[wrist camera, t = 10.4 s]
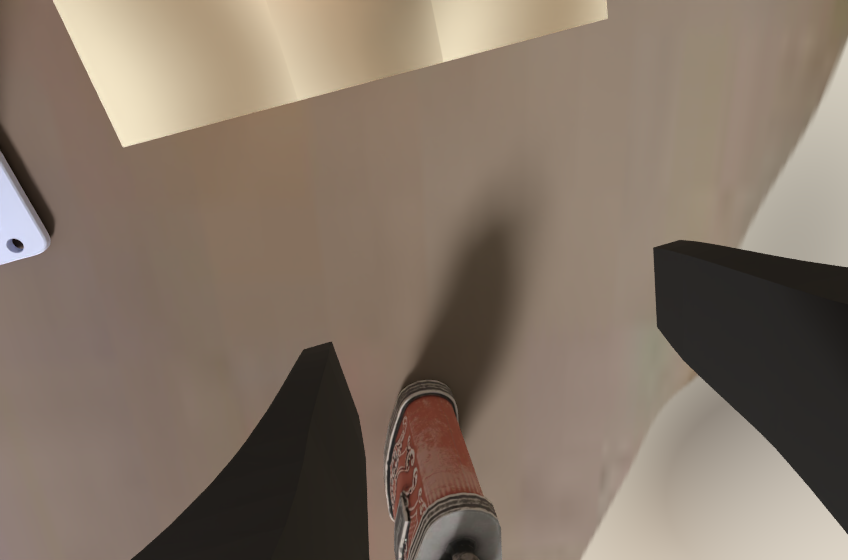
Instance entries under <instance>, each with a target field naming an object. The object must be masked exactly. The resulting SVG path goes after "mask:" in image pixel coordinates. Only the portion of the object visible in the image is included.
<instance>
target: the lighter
mask: <svg viewBox="0 0 848 560" xmlns="http://www.w3.org/2000/svg"><path fill="white" fill-rule="evenodd" d="M384 483H385V490H386V497H387V503H388V510H389V515H390V517H391V519H392V521H394V522H395V527H394V551H395V558H396V560H502V546H501V527H500V524H499V521H498V518H497V516H496V513H495V510H494V507H493V505H492V503H491V502H490V501H489V500H488V499H487V498H486V497H484V496H483V493H482V490H481V487H480V484H479V481H478V479H477V476H476V473H475V470H474V467H473V464H472V461H471V459H470V456H469V453H468V450H467V447H466V444H465V441H464V439H463V436H462V433H461V430H460V427H459V423H458V410H457V405H456V402H455V400H454V397H453V394H452V391H451V389H450V388H449V387H448V386H447V385H446V384H443V383H441V382H439V381H435V380H422V381H417V382H414V383H412V384H410V385H408V386H407V387H405V388H404V389H403V390H402V391H401V392H400V394H399V396H398V398H397V401H396V404H395V407H394V410H393V413H392V416H391V419H390V422H389V426H388V431H387V437H386V442H385V448H384Z"/></svg>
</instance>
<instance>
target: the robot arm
mask: <svg viewBox="0 0 848 560" xmlns="http://www.w3.org/2000/svg"><path fill="white" fill-rule="evenodd" d="M12 239H18V240H20V241H21V242H22V243H23V245H24V249H20V248H17V247H16V246H15V245H14V244H13V242H12ZM50 241H51V239H50V236H49V234H48V232H47V230H46V229H45V227H44V225H43V223H42V222H41V220H40V218H39V216H38V215H37V213H36V211H35V210H34V208H33V206H32V204H31V203H30V201H29V199H28V197H27V196H26V194H25V192H24V191H23V189H22V187H21V185H20V184H19V182H18V180H17V178H16V177H15V175H14V173H13V171H12V170H11V168H10V166H9V165H8V163H7V161H6V159H5V158H4V156H3V154H2V152H1V151H0V265H1V264H5V263H8V262H12V261H16V260H19V259H23V258H26V257H30V256H34V255H37V254H40V253H42V252H43V251H45V250H46V249H47V248H48V247H49V245H50ZM653 251H654V272H655V293H656V314H657V327H658V329H659V330H660V331H661V333H662V334H663V335H664V337H665V338H666V339H667V341H668V342H669V343H670V344H671V346H672V347H673V348H674V349H675V351H676V352H677V353H678V354H679V355H680V357H681V358H682V359H683V360H684V361H685V362H686V363H687V364H688V365H689V366H690V367H691V368H692V369H693V370H694V371H695V372H696V373H697V374H698V375H699V376H700V377H701V378H702V379H703V380H705V382H706V383H708V384H709V385H710V386H711V387H712V388H713V389H714V390H715V391H716V392H717V393H718V394H719V395H720V396H721V397H723V398H724V399H725V400H726V401H727V402H728V403H729V404H730V405H731V406H732V407H733V408H734V409H735V410H736V411H738V412H739V413H740V414H741V415H742V416H743V417H744V418H745V419H746V420H747V421H748V422H749V423H750V424H752V425H753V426H754V427H755V428H756V429H757V430H758V431H759V432H760V433H761V434H762V435H763V436H764V437H765V438H766V439H767V440H768V441H769V442H770V443H771V444H772V445H773V446H774V447H775V448H776V449H777V451H778V452H779V453H780V454H781V455H782V456H783V457H784V459H786V461H787V462H788V463H789V464H790V465H791V467H792V468H793V469H794V470H795V471H796V472H797V473H798V474H799V476H800V477H801V478H802V479H803V480H804V482H805V483H806V484H807V485H808V486H809V487H810V488H811V490H812V491H813V492H814V493H815V495H816V496H817V497H818V498H819V499H820V501H821V502H822V503H823V504H824V506H825V507H826V508H827V509H828V511H829V512H830V513H831V514H832V515H833V517H834V518H835V519H836V520H837V522H838V523H839V524H840V525H841V526H842V528H843V529H844V530H845V531H846V533H847V534H848V267H841V266H834V265H827V264H821V263H814V262H807V261H801V260H796V259H790V258H784V257H779V256H773V255H768V254H762V253H757V252H752V251H747V250H742V249H736V248H731V247H726V246H720V245H715V244H709V243H703V242H696V241H686V240H678V241H675V242H672V243H668V244H665V245H661V246H658V247H654V248H653ZM131 560H369V541H368V510H367V481H366V457H365V450H364V444H363V438H362V432H361V426H360V420H359V415H358V413H357V410H356V407H355V404H354V402H353V399H352V396H351V393H350V391H349V388H348V385H347V382H346V380H345V377H344V374H343V371H342V369H341V366H340V363H339V360H338V358H337V355H336V352H335V349H334V347H333V344H332V342H328V343H325V344H321V345H318V346H314V347H311V348H308V349H304V350H303V351H302V353H301V355H300V356H299V358H298V360H297V361H296V363H295V365H294V366H293V368H292V370H291V372H290V373H289V375H288V377H287V379H286V380H285V382H284V384H283V386H282V387H281V389H280V391H279V392H278V394H277V396H276V397H275V399H274V400H273V402H272V404H271V405H270V407H269V409H268V410H267V412H266V413H265V415H264V416H263V417H262V419H261V420H260V422H259V423H258V425H257V426H256V427H255V429H254V430H253V432H252V433H251V435H250V436H249V438H248V439H247V440H246V442H245V443H244V444H243V446H242V447H241V448H240V450H239V451H238V452H237V453H236V455H235V456H234V457H233V458H232V460H231V461H230V462H229V463H228V464H227V466H226V467H225V468H224V469H223V470H222V471H221V473H220V474H219V475H218V476H217V477H216V478H215V480H214V481H213V482H212V483H211V484H210V485H209V486H208V487H207V488H206V489H205V490H204V491H203V492H202V493H201V494H200V495H199V496H198V497H197V498H196V500H195V501H194V502H193V503H192V504H191V505H190V506H189V507H188V508H187V509H186V510H185V511H184V512H183V513H182V514H181V515H180V516H179V517H178V518H177V519H176V520H175V521H174V522H173V523H172V524H171V525H170V526H168V527H167V528H166V529H165V530H164V531H163V532H162V533H161V534H160V535H159V536H157V537H156V538H155V539H154V540H153V541H152V542H151V543H150V544H149V545H147V546H146V547H145V548H144V549H143V550H142V551H141V552H139V553H138V554H137V555H136V556H135V557H133V558H132V559H131Z"/></svg>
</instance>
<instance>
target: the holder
mask: <svg viewBox="0 0 848 560" xmlns="http://www.w3.org/2000/svg"><path fill="white" fill-rule="evenodd" d="M53 1H54V3H55V5H56V8H57V10H58V12H59V14H60V16H61V18H62V20H63V22H64V24H65V26H66V29H67V31H68V33H69V35H70V37H71V39H72V41H73V43H74V45H75V47H76V50H77V52H78V54H79V56H80V58H81V60H82V62H83V64H84V66H85V68H86V71H87V73H88V75H89V77H90V79H91V81H92V83H93V85H94V87H95V89H96V92H97V94H98V96H99V98H100V100H101V102H102V104H103V106H104V108H105V110H106V113H107V115H108V117H109V119H110V121H111V123H112V125H113V127H114V129H115V131H116V134H117V136H118V138H119V140H120V142H121V144H122V146H123V147H126V146H130V145H134V144H137V143H141V142H145V141H149V140H152V139H156V138H160V137H164V136H168V135H171V134H175V133H179V132H183V131H186V130H190V129H194V128H198V127H201V126H205V125H209V124H213V123H216V122H220V121H224V120H228V119H232V118H235V117H239V116H243V115H247V114H250V113H254V112H258V111H262V110H265V109H269V108H273V107H277V106H280V105H284V104H288V103H292V102H295V101H299V100H303V99H307V98H311V97H314V96H318V95H322V94H326V93H329V92H333V91H337V90H341V89H344V88H348V87H352V86H356V85H359V84H363V83H367V82H371V81H375V80H378V79H382V78H386V77H390V76H393V75H397V74H401V73H405V72H408V71H412V70H416V69H420V68H423V67H427V66H431V65H435V64H438V63H442V62H446V61H450V60H454V59H457V58H461V57H465V56H469V55H472V54H476V53H480V52H484V51H487V50H491V49H495V48H499V47H502V46H506V45H510V44H514V43H518V42H521V41H525V40H529V39H533V38H536V37H540V36H544V35H548V34H551V33H555V32H559V31H563V30H566V29H570V28H574V27H578V26H581V25H585V24H589V23H593V22H597V21H600V20H604V19H608V16H607V3H606V0H53Z"/></svg>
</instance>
